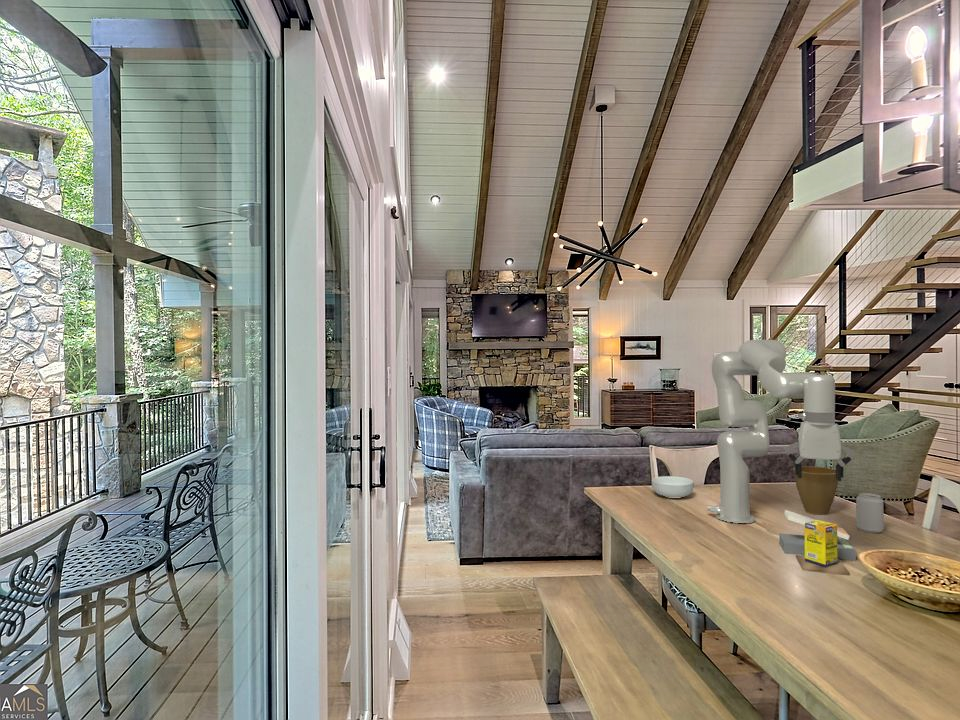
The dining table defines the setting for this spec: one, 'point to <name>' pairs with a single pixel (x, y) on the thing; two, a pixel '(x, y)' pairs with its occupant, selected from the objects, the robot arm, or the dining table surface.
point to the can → (869, 513)
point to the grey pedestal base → (797, 546)
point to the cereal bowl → (672, 486)
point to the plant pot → (817, 488)
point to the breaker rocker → (803, 519)
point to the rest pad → (834, 568)
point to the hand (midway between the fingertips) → (818, 478)
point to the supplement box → (821, 543)
